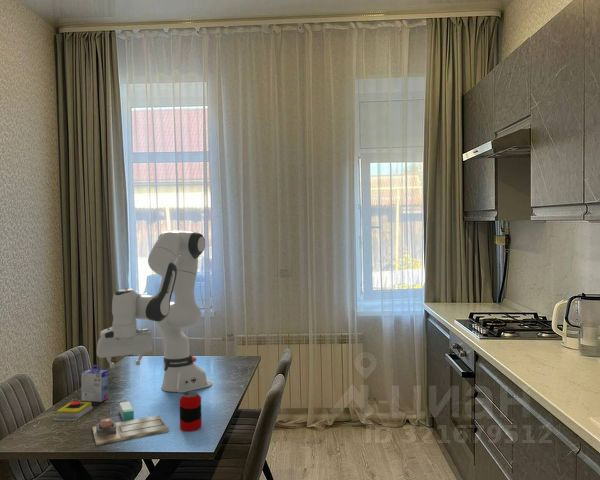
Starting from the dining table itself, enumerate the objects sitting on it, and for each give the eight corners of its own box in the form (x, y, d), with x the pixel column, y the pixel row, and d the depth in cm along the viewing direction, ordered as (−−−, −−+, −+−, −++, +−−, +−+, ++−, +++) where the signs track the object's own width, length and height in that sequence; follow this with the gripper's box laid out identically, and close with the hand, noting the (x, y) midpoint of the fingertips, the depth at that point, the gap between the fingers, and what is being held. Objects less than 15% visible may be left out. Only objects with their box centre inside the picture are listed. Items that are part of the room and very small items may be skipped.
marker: (129, 410, 204) (128, 401, 204) (133, 420, 193) (133, 410, 193) (119, 412, 202) (119, 403, 202) (123, 421, 192) (123, 412, 192)
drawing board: (159, 417, 196) (159, 408, 196) (168, 431, 181) (168, 422, 181) (92, 429, 185) (92, 420, 185) (96, 445, 171) (96, 435, 170)
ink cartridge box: (109, 398, 220) (108, 364, 219) (102, 402, 214) (101, 368, 214) (89, 396, 222) (88, 363, 221) (81, 401, 216) (80, 367, 216)
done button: (111, 426, 182) (111, 417, 182) (112, 429, 179) (112, 421, 179) (99, 428, 180) (99, 419, 180) (100, 432, 177) (100, 423, 177)
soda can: (190, 422, 190) (189, 390, 190) (205, 426, 186) (205, 393, 186) (175, 429, 184) (175, 396, 183) (191, 433, 180) (190, 399, 180)
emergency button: (94, 397, 208) (75, 410, 193) (94, 408, 208) (75, 422, 193) (72, 397, 209) (51, 410, 194) (72, 408, 209) (52, 421, 194)
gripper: (150, 327, 205) (151, 361, 205) (96, 332, 196) (96, 367, 196) (153, 329, 199) (154, 365, 199) (97, 334, 190) (98, 371, 190)
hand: (125, 366), depth 198 cm, fingers open, 8 cm apart
